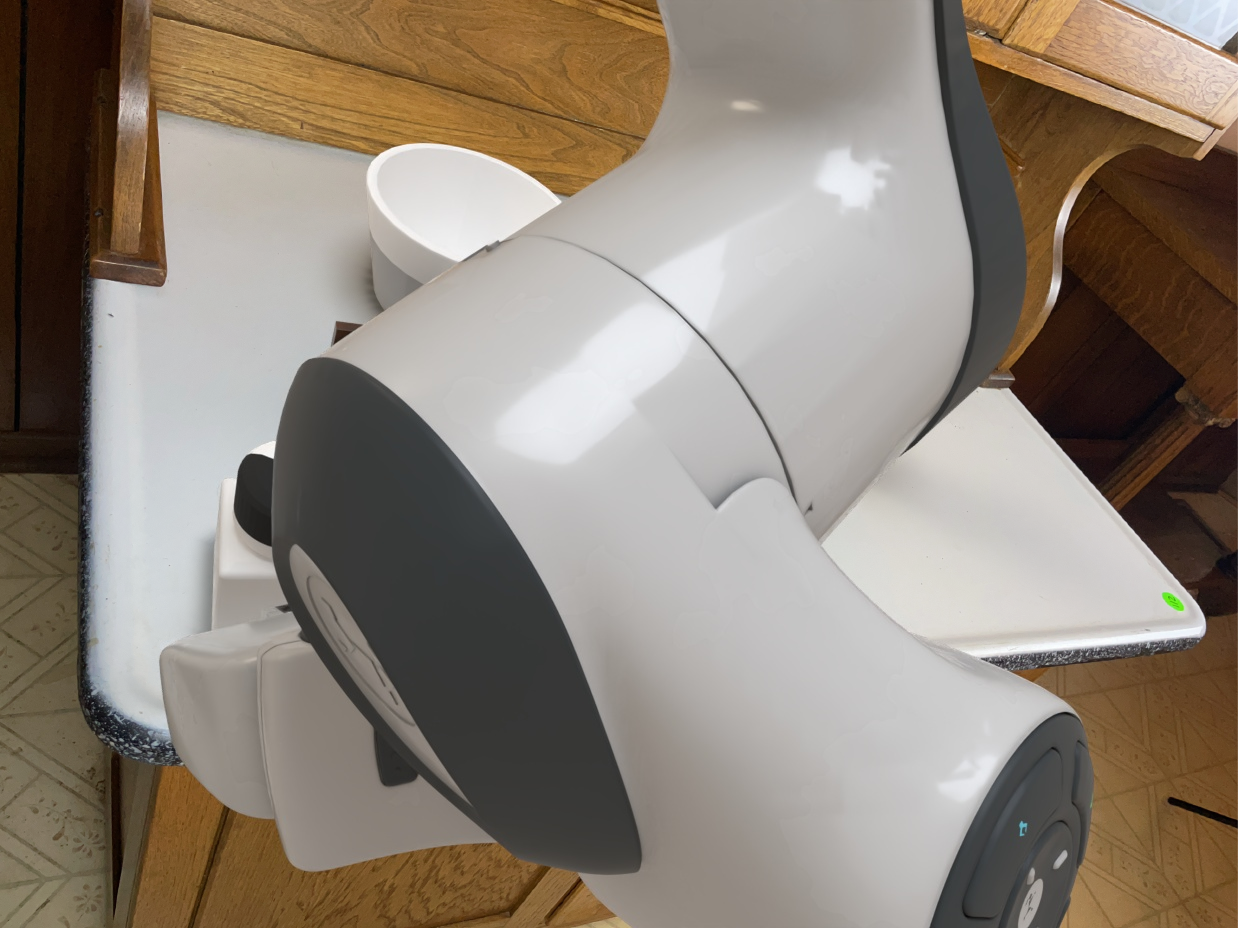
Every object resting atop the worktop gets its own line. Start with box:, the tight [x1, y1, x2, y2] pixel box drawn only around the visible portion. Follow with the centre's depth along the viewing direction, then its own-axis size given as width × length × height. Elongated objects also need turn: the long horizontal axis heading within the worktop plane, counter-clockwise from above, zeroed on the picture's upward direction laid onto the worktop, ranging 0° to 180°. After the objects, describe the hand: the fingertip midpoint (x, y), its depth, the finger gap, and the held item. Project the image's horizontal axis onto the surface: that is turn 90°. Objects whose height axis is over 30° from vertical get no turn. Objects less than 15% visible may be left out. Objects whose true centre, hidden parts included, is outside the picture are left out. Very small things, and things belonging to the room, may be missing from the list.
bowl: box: [365, 142, 563, 311], centre depth 78 cm, size 19×19×11 cm
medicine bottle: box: [211, 439, 288, 631], centre depth 51 cm, size 7×7×12 cm
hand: (387, 598), depth 39 cm, fingers open, 8 cm apart
